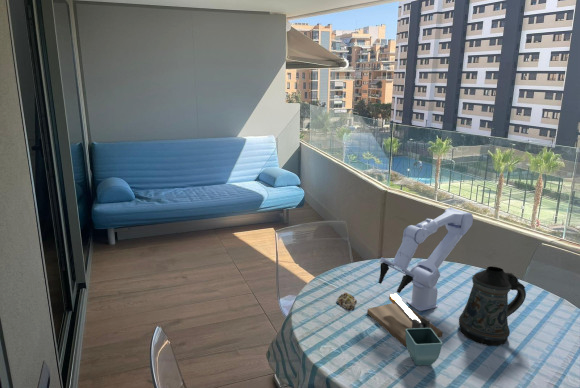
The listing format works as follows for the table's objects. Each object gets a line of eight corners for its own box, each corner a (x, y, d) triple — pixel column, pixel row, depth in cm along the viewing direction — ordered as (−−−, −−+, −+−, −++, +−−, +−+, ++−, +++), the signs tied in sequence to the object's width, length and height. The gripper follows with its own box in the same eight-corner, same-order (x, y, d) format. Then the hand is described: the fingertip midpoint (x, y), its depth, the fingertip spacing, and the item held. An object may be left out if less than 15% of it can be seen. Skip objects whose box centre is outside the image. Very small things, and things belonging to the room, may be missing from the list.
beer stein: (447, 325, 146) (455, 263, 140) (485, 315, 153) (494, 255, 147) (485, 351, 131) (495, 282, 125) (525, 338, 138) (536, 273, 133)
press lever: (395, 297, 151) (396, 293, 151) (425, 329, 137) (426, 325, 136) (388, 298, 150) (389, 295, 150) (418, 331, 136) (419, 327, 135)
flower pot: (402, 352, 130) (404, 328, 128) (428, 351, 131) (430, 327, 128) (412, 370, 121) (415, 344, 119) (440, 369, 122) (443, 343, 120)
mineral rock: (333, 293, 165) (351, 287, 165) (335, 301, 166) (354, 296, 166) (339, 307, 154) (359, 301, 155) (342, 316, 156) (361, 310, 156)
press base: (400, 305, 159) (402, 290, 158) (442, 336, 139) (444, 319, 137) (367, 313, 153) (368, 297, 152) (405, 346, 133) (407, 328, 131)
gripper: (389, 247, 145) (373, 280, 144) (425, 265, 144) (409, 298, 144) (385, 246, 152) (369, 277, 151) (419, 263, 151) (404, 295, 151)
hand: (388, 287), depth 148 cm, fingers open, 7 cm apart
